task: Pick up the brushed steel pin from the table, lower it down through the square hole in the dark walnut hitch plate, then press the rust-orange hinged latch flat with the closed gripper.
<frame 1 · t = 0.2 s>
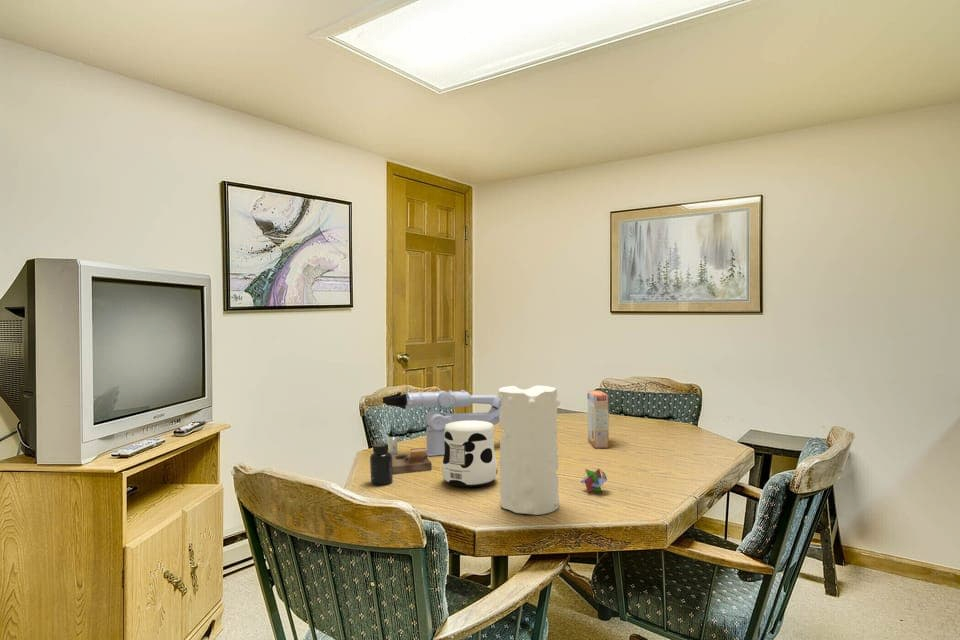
hand: (384, 401, 200), 21 cm above the table, tool horizontal, fingers open, 7 cm apart
latch: (417, 453, 185), point 5 cm above the table, hinge at 40.0°
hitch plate: (406, 466, 188), on the table
steel pin: (393, 456, 202), on the table
vase: (530, 506, 146), on the table
supplement bottle: (381, 483, 169), on the table
milk container: (469, 483, 168), on the table
geometric puzzle: (593, 492, 157), on the table
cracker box: (598, 444, 216), on the table
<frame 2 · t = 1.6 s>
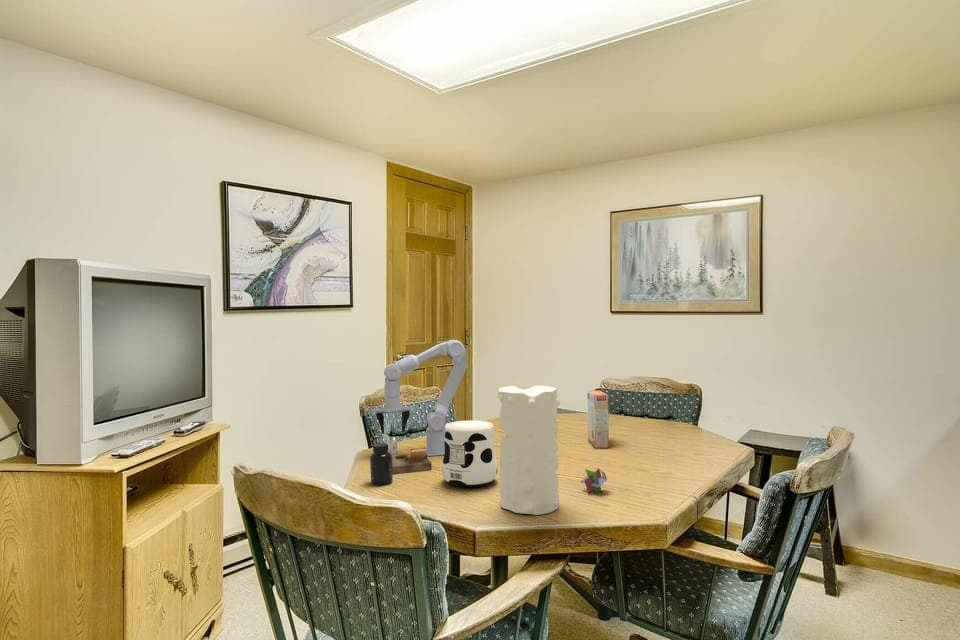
hand: (393, 432, 202), 9 cm above the table, tool pointing down, fingers open, 7 cm apart
nothing on the table moved.
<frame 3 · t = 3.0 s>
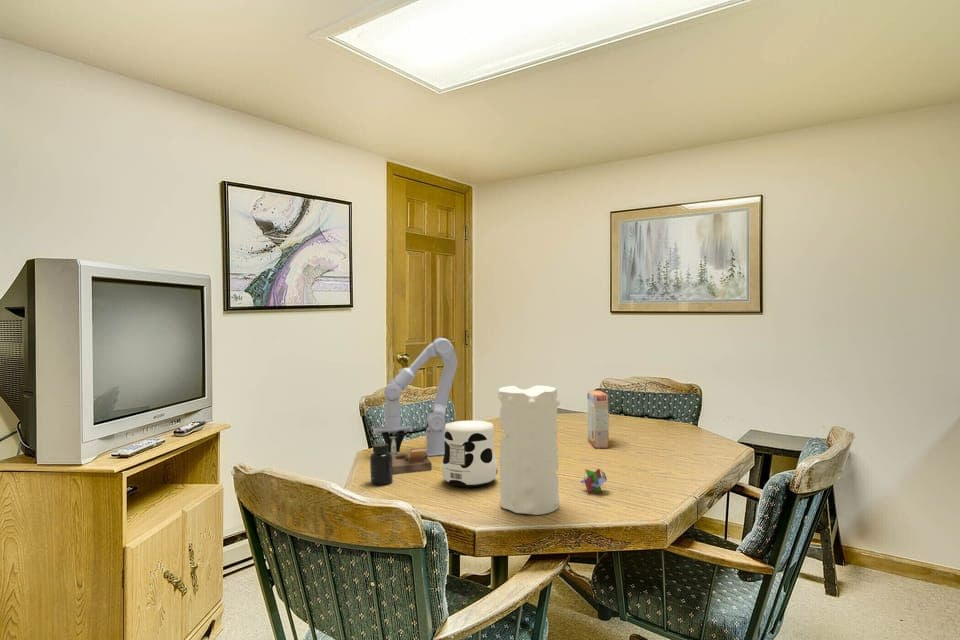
hand: (393, 451, 202), 2 cm above the table, tool pointing down, fingers closed on steel pin, 3 cm apart
steel pin: (393, 456, 202), on the table, touching gripper
everything else where it was.
when the fingers open (3 cm above the table, at t = 6.7 s): steel pin drops 1 cm, resting in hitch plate.
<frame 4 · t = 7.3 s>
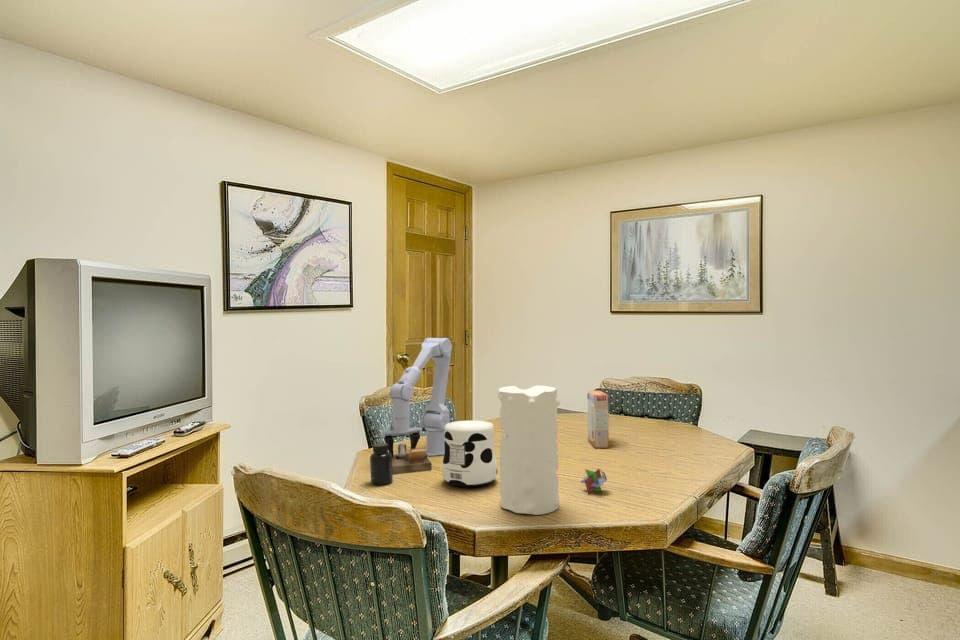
hand: (402, 455, 190), 3 cm above the table, tool pointing down, fingers open, 7 cm apart
steel pin: (402, 464, 191), resting in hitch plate
everything else where it was.
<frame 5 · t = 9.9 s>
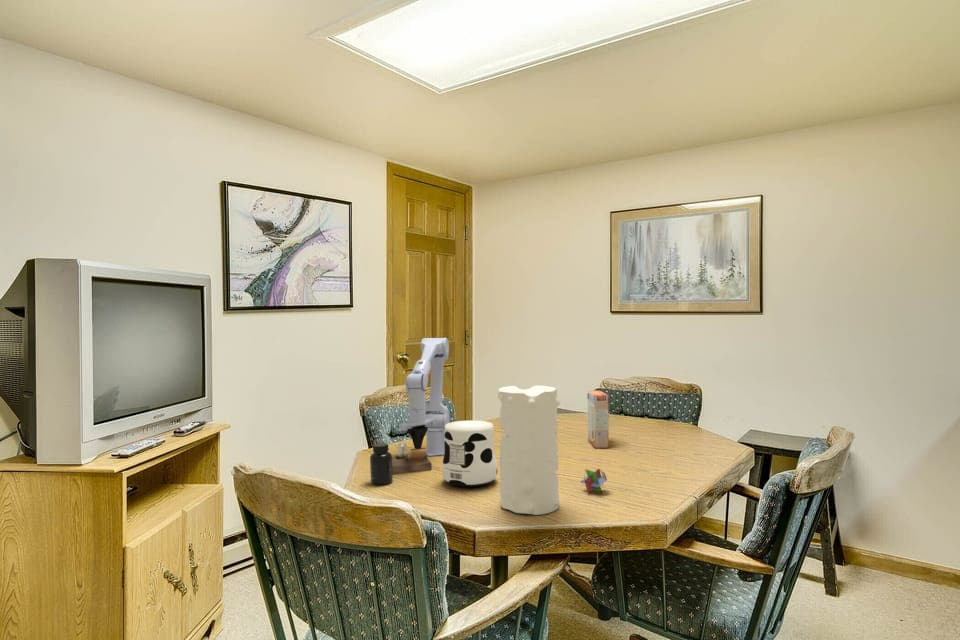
hand: (417, 448, 184), 7 cm above the table, tool pointing down, fingers closed, pressing on latch
latch: (417, 453, 185), point 5 cm above the table, hinge at 39.5°, touching gripper
everything else where it was.
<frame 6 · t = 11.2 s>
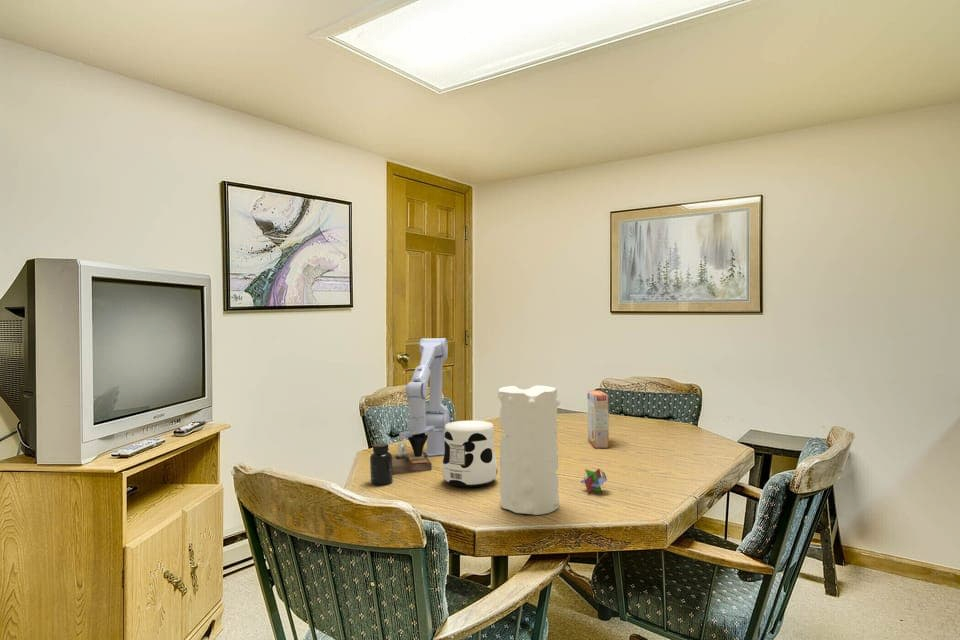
hand: (418, 456, 184), 4 cm above the table, tool pointing down, fingers closed
latch: (417, 459, 184), point 3 cm above the table, hinge at 3.5°
everything else where it was.
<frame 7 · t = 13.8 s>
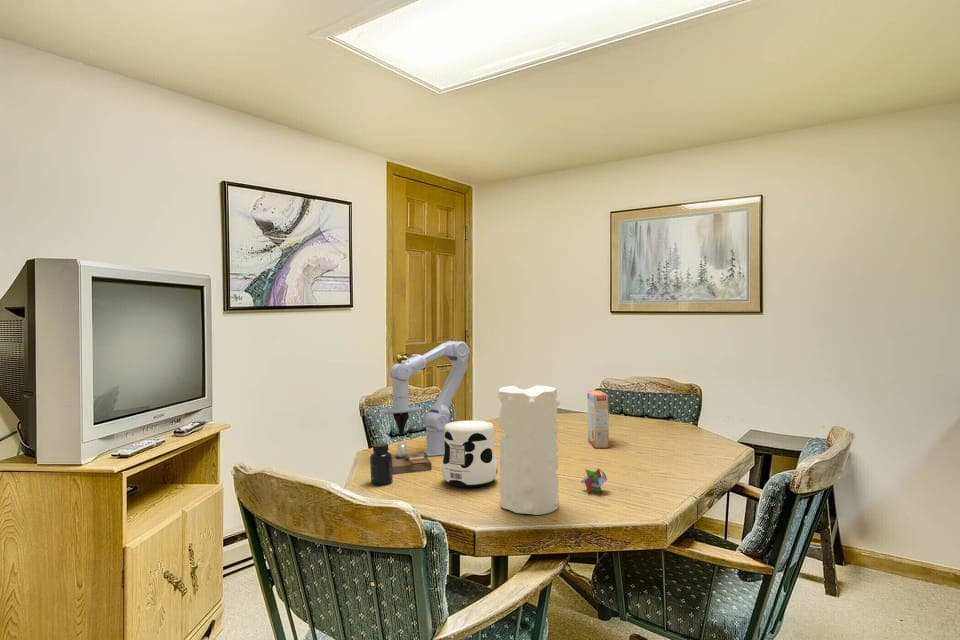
hand: (401, 433, 197), 9 cm above the table, tool pointing down, fingers closed
nothing on the table moved.
at the end: steel pin 0.2 cm from the target spot, resting in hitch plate; steel pin tilted 0°; latch at +4° (first picture: +40°) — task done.
